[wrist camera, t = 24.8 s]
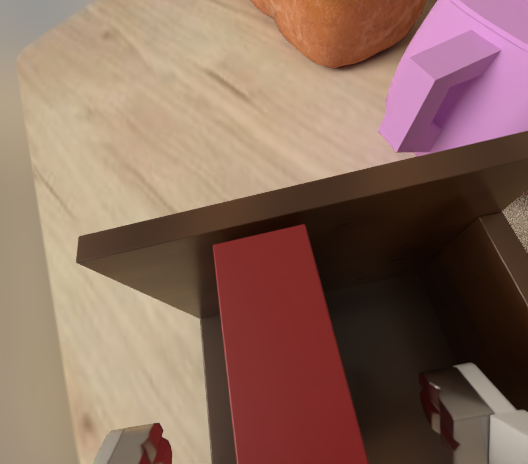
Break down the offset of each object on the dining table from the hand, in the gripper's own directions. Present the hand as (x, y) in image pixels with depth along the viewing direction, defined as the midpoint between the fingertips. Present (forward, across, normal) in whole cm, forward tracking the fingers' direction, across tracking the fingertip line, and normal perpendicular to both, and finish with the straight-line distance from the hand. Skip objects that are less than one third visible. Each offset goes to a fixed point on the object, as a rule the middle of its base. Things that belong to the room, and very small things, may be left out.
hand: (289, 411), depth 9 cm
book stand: (+8, -2, +7) cm, 11 cm away
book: (+8, 0, +6) cm, 10 cm away
